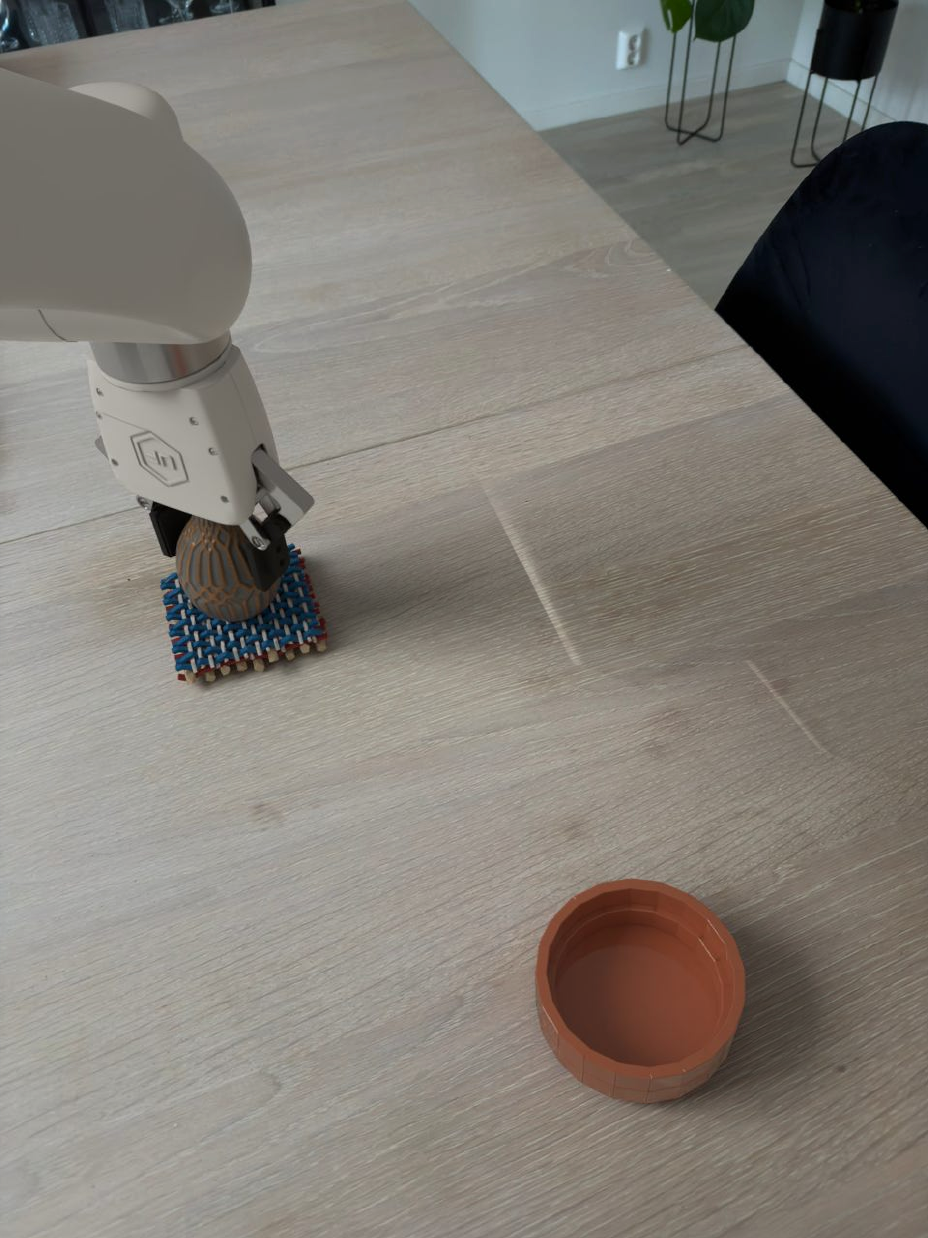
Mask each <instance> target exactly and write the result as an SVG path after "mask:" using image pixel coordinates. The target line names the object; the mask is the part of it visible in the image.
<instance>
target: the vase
mask: <svg viewBox="0 0 928 1238" xmlns="http://www.w3.org/2000/svg"><path fill="white" fill-rule="evenodd" d="M253 515H254V516H255V518H256V519H257V521H258V522H259V523H260V524H261V522H262V521H263V520H261V519H260V518H259V517H258V516H257V515H256V514H254V513H253ZM249 542H250V540H249V539H248V538H247V536H246V535H245V533H244V532H243V530H242V529H241V528H240V526H239V525H226V524H221V523H217V522H214V521H211V520H207V519H204V518H201V517H198V516H195V515H192V517H191V518H190V520H189V521H188V523H187V524H186V525H185V527H184V529H183V530H182V532H181V534H180V536H179V539H178V542H177V547H176V556H175V557H174V558H175V570H176V572H177V575H178V578H179V581H180V584H181V586H182V588H183V590H184V592H185V594H186V596H187V597H188V598H189V600H190V601H191V602H192V603H193V604H194V605H195V607H196V608H198V609H199V610H200V611H201V612H203V613H204V614H206V615H207V616H209V617H212V618H215V619H218V620H221V621H240V622H241V621H242V620H246V619H249V618H252V617H254V616H256V615H257V614H259V613H260V612H262V611H263V610H264V609H266V608H267V607H268V606H269V604H270V603H271V602H272V601H273V599H274V598H275V596H276V594H277V592H278V589H279V586H280V582H281V577H279V578H278V579H277V580H276V581H275V583H274V584H273V585H272V586H271V587H270V588H269V590H268V591H267V592H263V591H260V590H258V589H257V587H256V586H255V583H254V579H253V576H252V572H251V569H250V565H249V561H248V558H247V554H246V550H245V548H246V546H247V544H248V543H249ZM256 617H257V616H256Z"/></svg>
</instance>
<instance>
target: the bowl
mask: <svg viewBox="0 0 928 1238" xmlns="http://www.w3.org/2000/svg"><path fill="white" fill-rule="evenodd" d="M746 979H747V978H746V968H745V965H744V962H743V959H742V956H741V953H740V950H739V947H738V944H737V942H736V939H735V938H734V936H733V935H732V934H731V932H730V931H729V930H728V929H727V927H726V926H725V925H724V923H723V922H722V920H721V919H720V917H719V916H718V915H717V914H716V913H715V912H714V911H712V910H711V909H710V908H709V907H708V906H706V905H705V904H704V903H702V902H701V901H700V900H698V899H697V898H696V896H693V895H692V894H691V893H688V892H687V891H684V890H681V889H680V888H677V887H674V886H672V885H670V884H668V883H664V882H663V881H655V880H648V879H640V878H624V879H618V880H612V881H611V880H610V881H605V882H601V883H598V884H595V885H593V886H592V887H590V888H587V889H585V890H583V891H581V892H580V893H577V894H575V895H574V896H573V897H571V898H570V899H569V900H568V901H567V902H566V903H565V904H564V905H563V906H562V907H561V908H560V909H559V910H558V911H557V912H556V913H555V914H554V915H553V916H552V918H551V919H550V921H549V923H548V925H547V927H546V929H545V931H544V932H543V935H542V937H541V938H540V941H539V944H538V949H537V955H536V963H535V971H534V988H535V989H534V990H535V991H534V993H535V997H534V998H535V1007H536V1012H537V1017H538V1022H539V1026H540V1031H541V1033H542V1035H543V1037H544V1039H545V1041H546V1042H547V1044H548V1046H549V1048H550V1049H551V1051H552V1053H553V1055H554V1057H555V1058H556V1060H557V1061H558V1063H559V1064H561V1065H562V1066H563V1067H564V1068H565V1069H566V1070H567V1071H568V1072H569V1073H570V1074H571V1075H572V1076H573V1077H574V1078H575V1079H576V1080H577V1081H579V1082H580V1083H581V1084H583V1085H585V1086H587V1087H588V1088H590V1089H593V1090H594V1091H597V1092H599V1093H601V1094H603V1095H605V1096H607V1097H609V1098H612V1099H614V1100H620V1101H625V1102H633V1103H639V1104H652V1103H658V1102H663V1101H670V1100H676V1099H678V1098H681V1097H683V1096H685V1095H686V1094H688V1093H690V1092H692V1091H693V1090H695V1089H697V1088H699V1087H700V1086H702V1085H704V1084H706V1083H707V1082H708V1081H709V1080H710V1079H711V1077H712V1076H713V1075H714V1074H715V1073H716V1072H717V1070H718V1069H719V1068H720V1067H721V1066H722V1064H723V1063H724V1062H725V1061H726V1059H727V1057H728V1054H729V1052H730V1049H731V1047H732V1044H733V1041H734V1038H735V1036H736V1032H737V1030H738V1027H739V1024H740V1021H741V1018H742V1015H743V1012H744V1009H745V1006H746V1002H747V1001H746V999H747V998H746V997H747V995H746V993H747V992H746V991H747V990H746V986H747V985H746Z"/></svg>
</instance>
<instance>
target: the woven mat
mask: <svg viewBox="0 0 928 1238" xmlns="http://www.w3.org/2000/svg"><path fill="white" fill-rule="evenodd" d="M287 547H288V551H289V555H290V565H289V568H288V570H287V571H286V572H285V573H284V575H283V576H282V577H281V582H280V586H279V589H278V592H277V594H276V596H275V598H274V599H273V601H272V602H271V603H270V604H269V606H268V607H267V608H266V609H264V610H263V611H262V612H260V613H259V614H257V615H256V616H254V617H252V618H249V619H246V620H242V621H221V620H218V619H215V618H212V617H209V616H207V615H206V614H204V613H203V612H201V611H200V610H199V609H198V608H196V607H195V605H194V604H193V603H192V602H191V601H190V600H189V598H188V597H187V596H186V594H185V592H184V590H183V588H182V586H181V584H180V581H179V578H178V575H177V571H176V572H173V573H171V574H170V575H168V576H167V577H166V578H163V579H160V585H159V587H160V590H161V591H162V592H163V591H166V590H168V591H166V592H165V593H164V594H163V595H162V604H163V605H164V608H165V611H166V615H165V621H167V622H168V623H169V622H171V621H174V623H169V624H168V630H169V631H168V636H169V638H171V644H172V645H171V647H172V648H171V652H172V654H173V659H174V662H175V663H174V670H175V671H176V672H181V671H183V673H178V674H177V681H181V682H186V684H187V685H193V684H195V683H197V682H198V679H199V678H200V677H201V676H202V675H203V674H204V678H205V682H210V683H213V682H214V681H215V680H216V679H217V677H216V674H215V670H218V669H219V670H220V672H221V674H222V676H227V675H229V674H230V672H231V670H232V669H231V666H230V665H234V664H235V666H236V670H237V672H245V671H246V670H248V664H247V662H248V661H252V664H253V668H254V671H256V672H263V671H264V670H265V664H264V660H263V659H267V660H268V662H269V663H274V662H277V661H279V660H280V658H279V657H281V656H282V655H283V654H284V655H285V658H286V659H287V660H288V661H292V660H293V659H294V658H296V655H295V651H294V649H297V648H299V650H300V652H301V653H302V654H307V653H309V652H310V651H311V650H310V649H311V647H310V644H313V643H314V644H315V647H316V651H317V652H321V653H323V652H325V651H326V650H327V645H326V641H325V640H327V639H329V635H328V632H327V631H326V625H325V624H326V623H327V622H326V619H325V617H323V616H321V617H320V618H319V617H318V615H321V610H320V608H319V607H320V606H321V604H320V602H317V601H315V602H313V600H315V599H316V594H315V592H314V588H313V585H312V580H311V576H310V574H309V573H306V572H305V573H304V570H306V569H307V566H306V563H305V562H306V560H305V558H304V557H300V555H302V554H303V553H302V551H301V548H297V549H296V545H295V544H294V543H293V542H292V543H290V544H287ZM174 637H175V638H174ZM172 638H173V639H172ZM196 650H197V651H196ZM231 650H232V651H231ZM265 650H266V651H265Z"/></svg>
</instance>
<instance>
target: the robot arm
mask: <svg viewBox="0 0 928 1238" xmlns="http://www.w3.org/2000/svg"><path fill="white" fill-rule="evenodd" d="M252 255H253V254H252V245H251V239H250V234H249V229H248V226H247V223H246V220H245V217H244V215H243V211H242V210H241V207H240V205H239V203H238V201H237V199H236V197H235V196H234V193H233V192H232V190H231V189H230V187H229V185H228V183H226V181H225V179H224V178H223V177H222V175H220V173H219V172H218V171H217V170H216V168H215V167H214V166H213V165H212V163H210V161H208V160H207V159H206V158H205V157H204V156H202V154H200V153H199V152H198V151H197V150H195V149H194V148H193V147H192V146H190V145H189V143H187V142H186V141H185V140H184V137H183V134H182V129H181V127H180V123H179V120H178V116H177V115H176V112H175V110H174V109H173V107H172V106H171V105H170V103H169V102H168V101H167V100H166V98H164V96H162V95H161V94H160V93H159V92H158V91H155V90H153V89H151V88H149V87H147V86H146V85H142V84H139V83H134V82H127V81H97V82H90V83H85V84H84V83H83V84H79V85H76V86H72V87H69V88H67V87H63V86H59V85H56V84H53V83H49V82H46V81H43V80H40V79H36V78H33V77H31V76H27V75H23V74H21V73H19V72H15V71H12V70H9V69H6V68H3V67H0V341H1V342H2V341H3V342H23V343H24V342H31V343H32V342H33V343H41V342H42V343H78V342H87V343H89V348H88V349H87V353H86V365H87V366H86V367H87V376H88V378H87V379H88V384H89V385H88V386H89V392H90V396H91V401H92V406H93V410H94V414H95V419H96V422H97V426H98V430H99V432H100V436H98V437H97V438H96V439H95V441H94V445H95V447H96V448H97V449H98V450H99V451H100V452H101V454H102V455H104V457H105V458H106V459H107V460H108V461H109V463H110V466H111V469H112V472H113V474H114V476H115V478H116V480H117V482H118V483H119V484H120V485H121V486H122V487H123V489H125V490H127V491H128V492H130V493H132V494H135V495H136V498H135V499H136V502H137V504H138V505H139V506H140V507H141V508H142V509H143V510H146V511H149V513H148V516H149V520H150V522H151V526H152V528H153V530H154V533H155V535H156V539H157V541H158V544H159V547H160V550H161V552H162V555H163V556H164V557H168V558H176V547H177V542H178V539H179V536H180V534H181V532H182V530H183V529H184V527H185V525H186V524H187V523H188V521H189V520H190V518H191V517H192V515H195V516H198V517H201V518H204V519H207V520H211V521H214V522H217V523H221V524H226V525H239V526H240V528H241V529H242V530H243V532H244V533H245V535H246V536H247V538H248V539H249V540H250V542H249V543H248V544H247V546H246V548H245V550H246V554H247V558H248V561H249V565H250V569H251V572H252V576H253V579H254V583H255V586H256V587H257V589H258V590H260V591H263V592H267V591H268V590H269V588H270V587H271V586H272V585H273V584H274V583H275V581H276V580H277V579H278V578H279V577H282V576H283V575H284V573H285V572H286V571H287V570H288V568H289V565H290V555H289V551H288V547H287V546H288V544H287V538H286V534H287V533H288V531H289V530H290V529H291V528H292V527H294V526H295V525H297V523H299V521H301V520H302V519H303V518H304V517H305V516H306V515H307V514H308V512H309V511H310V510H311V509H312V508H313V507H314V506H315V504H316V501H315V499H314V497H313V495H311V494H310V492H308V491H307V490H306V489H305V488H304V487H303V486H302V485H300V484H299V483H298V482H297V480H295V479H294V478H293V477H292V476H291V475H290V474H289V473H288V472H287V471H286V470H285V469H284V468H283V467H281V465H280V460H279V459H280V458H279V454H278V449H277V446H276V441H275V437H274V434H273V430H272V428H271V424H270V420H269V418H268V414H267V411H266V408H265V405H264V402H263V400H262V397H261V394H260V392H259V389H258V386H257V384H256V381H255V379H254V377H253V375H252V372H251V369H250V368H249V365H248V363H247V361H246V359H245V357H244V355H243V353H242V351H241V348H240V347H238V346H237V345H235V344H233V338H232V333H231V331H230V329H231V328H232V327H233V325H234V324H235V323H236V322H237V321H238V319H239V317H240V315H241V313H242V312H243V310H244V308H245V306H246V302H247V300H248V297H249V293H250V288H251V283H252V276H253V275H252V273H253V256H252ZM258 504H259V505H260V507H261V508H262V510H263V511H264V513H265V514H266V517H265V518H264V519H263V520H261V521H262V522H261V524H260V523H259V522H258V521H257V519H256V518H255V516H256V515H255V514H254V512H255V508H256V506H257V505H258ZM253 514H254V515H255V516H254V515H253Z"/></svg>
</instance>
